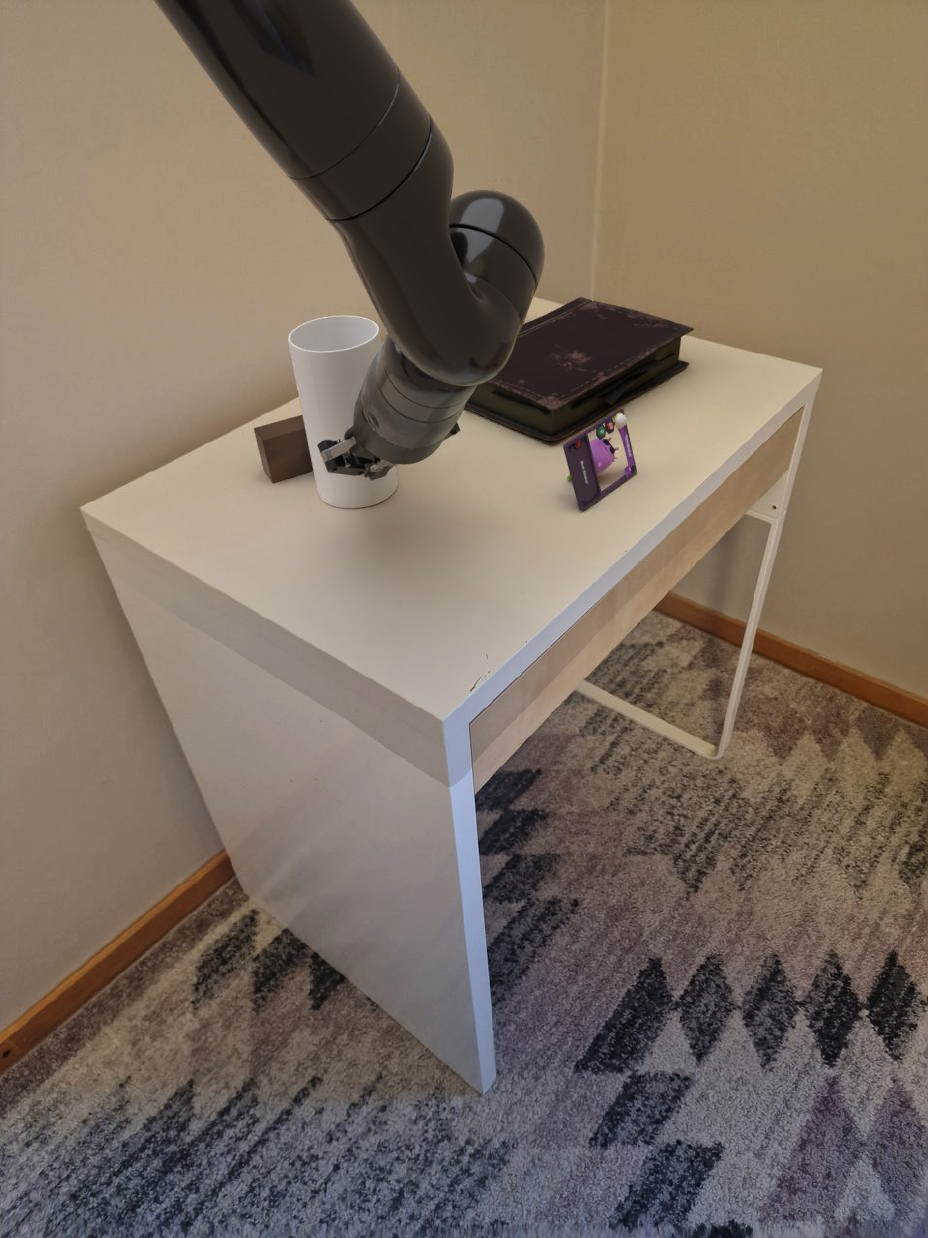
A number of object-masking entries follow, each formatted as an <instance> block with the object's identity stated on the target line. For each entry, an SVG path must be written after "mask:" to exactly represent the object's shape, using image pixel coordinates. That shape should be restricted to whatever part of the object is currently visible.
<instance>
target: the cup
mask: <svg viewBox="0 0 928 1238" xmlns="http://www.w3.org/2000/svg"><path fill="white" fill-rule="evenodd" d="M287 342H288V348H289V353H290V359H291V363H292V369H293V374H294V380H295V384H296V389H297V395H298V399H299V404H300V409H301V413H302V414H301V415H303V420H304V425H305V430H306V435H307V440H308V445H309V450H310V455H311V460H312V466H313V471H312V472H313V474H314V481H315V485H316V490H317V494H318V497H319V498H320V499H321V500H322V501H323V502H324V503H326V504H328V505H329V506H333V507H336V508H340V509H361V508H366V507H370V506H374V505H377V504H379V503H382V502H383V501H385V500H387V499H388V498H390V497H391V496H392V495H393V494H394V493H395V492H396V491H397V489H398V486H399V476H398V468H397V466H394V467H392V468H391V469H390V470H389V471H388V473H387V475H386V476H384V477H381V478H378V479H375V480H372V481H371V480H370V478H369V477H366V478H365V477H364V475H360V476H358V475H357V476H353V475H345V474H336V473H328V472H327V469H326V467H325V464H324V462H323V459H322V457H321V454H320V451H319V449H318V446H317V445H318V444H319V443H320V442H321V441H323V440H333V441H335V440H337V439H340V440H341V442H342V441H344V440H345V439H344V435H345V432H346V431H347V430H348V429H349V428H350V427H352V426H353V417H354V408H355V403H356V400H357V398H358V395H359V393H360V390H361V387H362V385H363V382H364V379H365V377H366V374H367V372H368V369H369V367H370V365H371V363H372V361H373V359H374V357H375V356H376V355H377V353H378V352H379V351H380V348H381V346H382V338H381V331H380V328H379V325H378V324H377V322H376V321H373V320H371V319H369V318H367V317H363V316H358V315H348V314H347V315H346V314H345V315H331V316H330V315H329V316H324V317H319V318H315V319H312V320H308V321H306V322H304V323H301V324H299V325H298V326H296V327H294V328H293V329H292V330H291V331H290V332H289V334H288V337H287Z"/></svg>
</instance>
